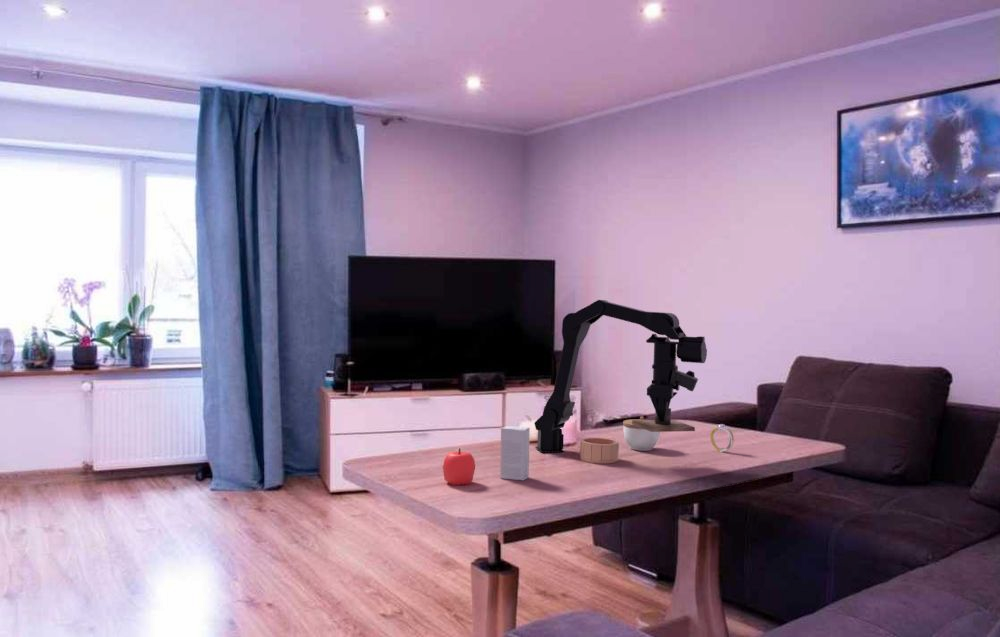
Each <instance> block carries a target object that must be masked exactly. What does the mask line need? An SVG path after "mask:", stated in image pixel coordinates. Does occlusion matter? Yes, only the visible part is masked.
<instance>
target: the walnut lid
mask: <svg viewBox="0 0 1000 637" xmlns="http://www.w3.org/2000/svg"><path fill="white" fill-rule="evenodd" d="M671 417H672V408H670V407H669V408H667V409H666V414H665V419H664V422H660V421H659V419H658V416H657V413H656V411H655V413H654V419H644V420H632V419H631V420H632V424H634V425H636V426H638V427H641V428H643V429H646V430H648V431H651V432H660V433H662V432H663V433H666V432H695V428H696V427H695V426H693V425H689V424H687V423H684V422H681V421H679V420H675V419H672V418H671Z"/></svg>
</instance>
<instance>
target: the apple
mask: <svg viewBox="0 0 1000 637" xmlns="http://www.w3.org/2000/svg"><path fill="white" fill-rule="evenodd" d="M442 470H443V471H442V472H443V477H444V481H446V482H447V483H449V484H450V483H451V484H450V485H452V484H454V485H453V486H461V485H460V484H466V485H469V484H471V483H472V481H473V479H474V476H475V470H476V461H475V458H474V456H473V455H472V453H470V452H466V451H461V448H460V447H458V451H453V452H452V451H451V452H447V455H445V458H444V460H443V465H442ZM468 483H469V484H468Z"/></svg>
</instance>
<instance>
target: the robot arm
mask: <svg viewBox="0 0 1000 637" xmlns="http://www.w3.org/2000/svg"><path fill="white" fill-rule="evenodd" d="M603 316H605V317H608V318H614V319H617V320H621V321H625V322H628V323H632V324H637V325H640V326H642V327H643V328H645V329H647V330H648V331H651V332H653V333H652V334H651V336H650V337H648V338H647V339H646V340H645V342H646V343H647V344H648V343H649V344H653V363H652V365H651V370H652V379H651V384H650V385H649V386H648V387H646V396H648V397H649V398H650V400H651V403H652V406H653V408H654V410H655V411H656V413H657V416H658V419H659V421H660V422H664V419H665V414H666V409H667V408H670V405H671V401H672V399H673V398H674V397H675V396H676V395H678V392H676V391H679V390H680V387H682V388H685V389H686V390H688V391H690V392H694V391H695V388H696V385H697V383H698V380H699V378H697V377H695V372H694V371H692V370H688V371H686V372H683V371H680V370H678V369H679V366H678V364H677V358H678V359H679V360H680V361H681V362H682V363H694V364H705V363H706V360H707V354H708V348H707V344H706V340H705V338H706V337H705V336H688V335H686V333H685V332H684V330H683V329H682V327H681V326H680V320H679V318H678V317H677V315H676V314H675V313H671V312H662V311H661V312H660V311H647V310H643V309H642V310H641V309H638V308H633V307H630V306H625V305H621V304H617V303H613V302H610V301H608V300H604V299H597V300H594V301H593V302H592V303H590V304H589V305H587V306H585V307H583V308H581V309H579V310H578V311H575V312H569V313H567V314H566V315H565V316H564V317H563V319H562V324H561V335H562V336H561V337H562V341H563V345H562V350H561V354H560V360H559V364H558V368H557V372H556V373H557V374H556V378H555V382H554V387H553V391H552V393H551V394H550V395H549V396H550V397H549V398H548V400H547V401H546V404H545V405H544V409H543V412H542V415H541V416H539V418H538V419H536V421H535V422H534V427H535V430H536V431H537V446H535V449H536V450H538V451H539V452H540V453H563V452H564V439H565V438H564V434H563V429H562V428H564V426H565V425H566V423H567V422H568V421H569V419H570V418H571V417H572V416H574V413H573V410H574V407H575V404H576V401H572V400H571V396H570V393H571V388H572V385H573V384H572V383H573V380H574V377H575V376H574V374H575V371H576V366H577V362H578V358H579V352H580V348H581V345H582V344H583V342H584V340H585V339H586V338H587V335H588V333H589V331H590V328H591V326H592V325H593V324H595V323H596V322H598V320H600V318H602V317H603ZM658 335H660V336H658ZM672 340H674V341H672ZM675 340H678V341H675ZM674 390H675V391H674Z"/></svg>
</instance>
